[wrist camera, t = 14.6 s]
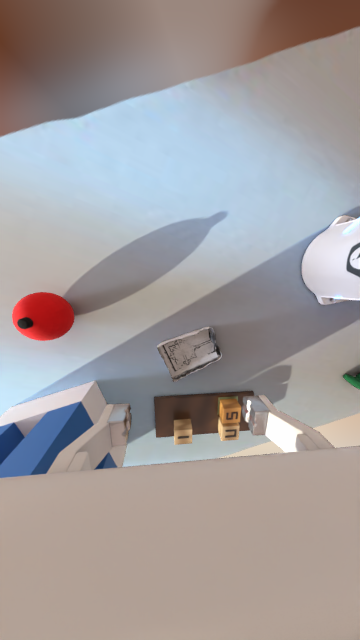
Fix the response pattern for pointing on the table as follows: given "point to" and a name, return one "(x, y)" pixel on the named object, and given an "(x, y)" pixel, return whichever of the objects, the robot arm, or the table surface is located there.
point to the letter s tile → (229, 410)
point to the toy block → (51, 430)
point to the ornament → (43, 316)
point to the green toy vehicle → (353, 380)
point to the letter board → (196, 416)
